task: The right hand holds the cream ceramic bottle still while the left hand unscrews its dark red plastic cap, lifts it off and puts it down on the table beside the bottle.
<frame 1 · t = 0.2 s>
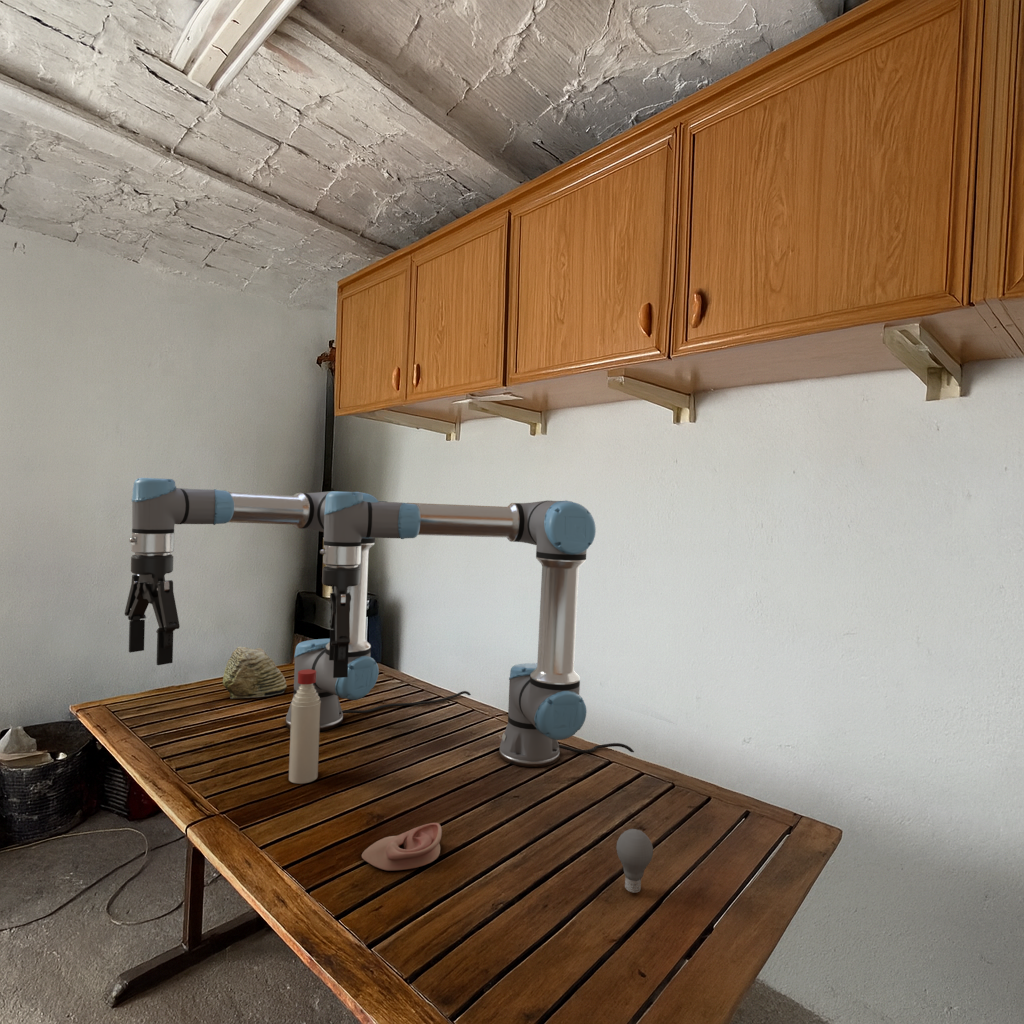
left hand: (150, 657, 129), 29 cm above the table, tool pointing down, fingers open, 13 cm apart
right hand: (337, 668, 131), 28 cm above the table, tool pointing down, fingers open, 13 cm apart
bottle: (303, 777, 142), on the table
fossil: (254, 694, 198), on the table
anatomical model: (402, 854, 114), on the table
cap: (307, 672, 142), point 24 cm above the table, screwed on, not yet turned
light bulb: (632, 891, 106), on the table
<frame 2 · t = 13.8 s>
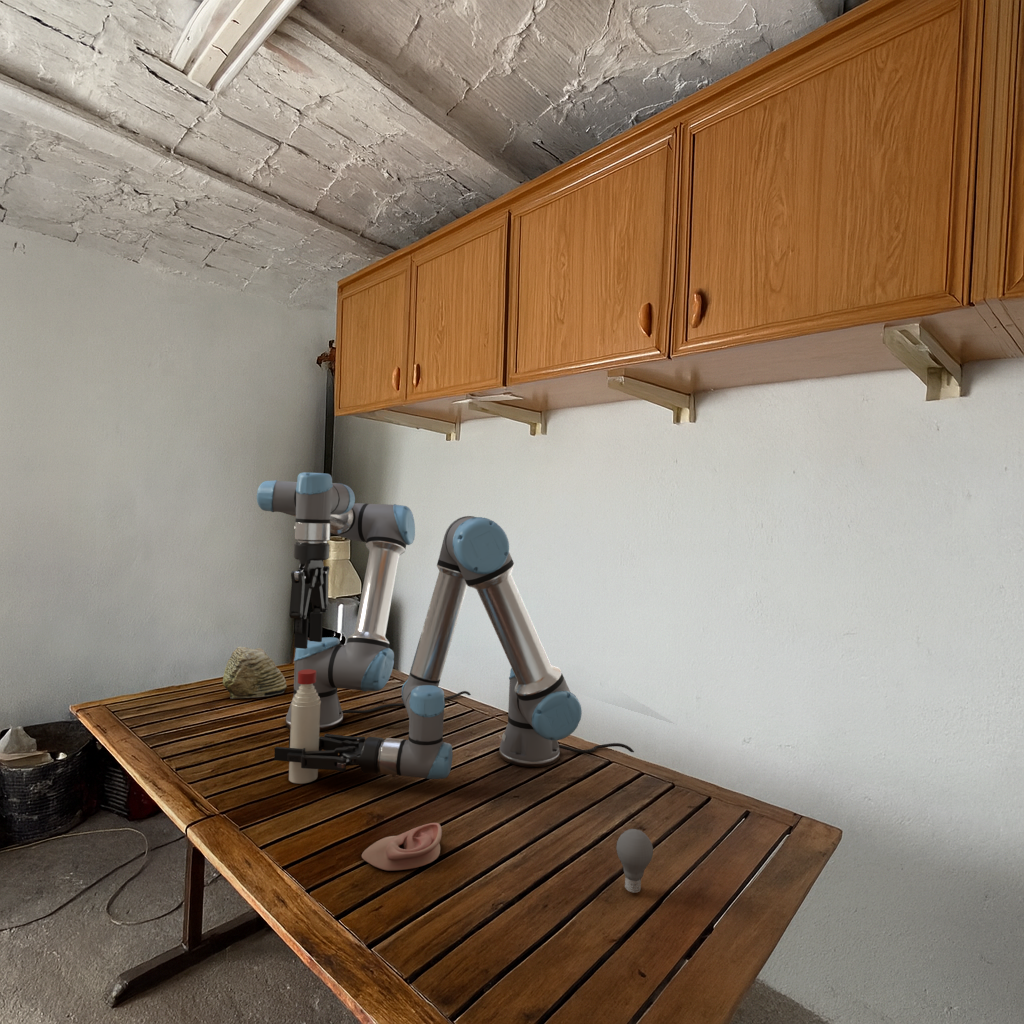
left hand: (308, 644, 142), 30 cm above the table, tool pointing down, fingers open, 6 cm apart
right hand: (282, 747, 143), 6 cm above the table, tool horizontal, fingers closed on bottle, 6 cm apart
bottle: (303, 777, 142), on the table, touching right hand
everything else where it was.
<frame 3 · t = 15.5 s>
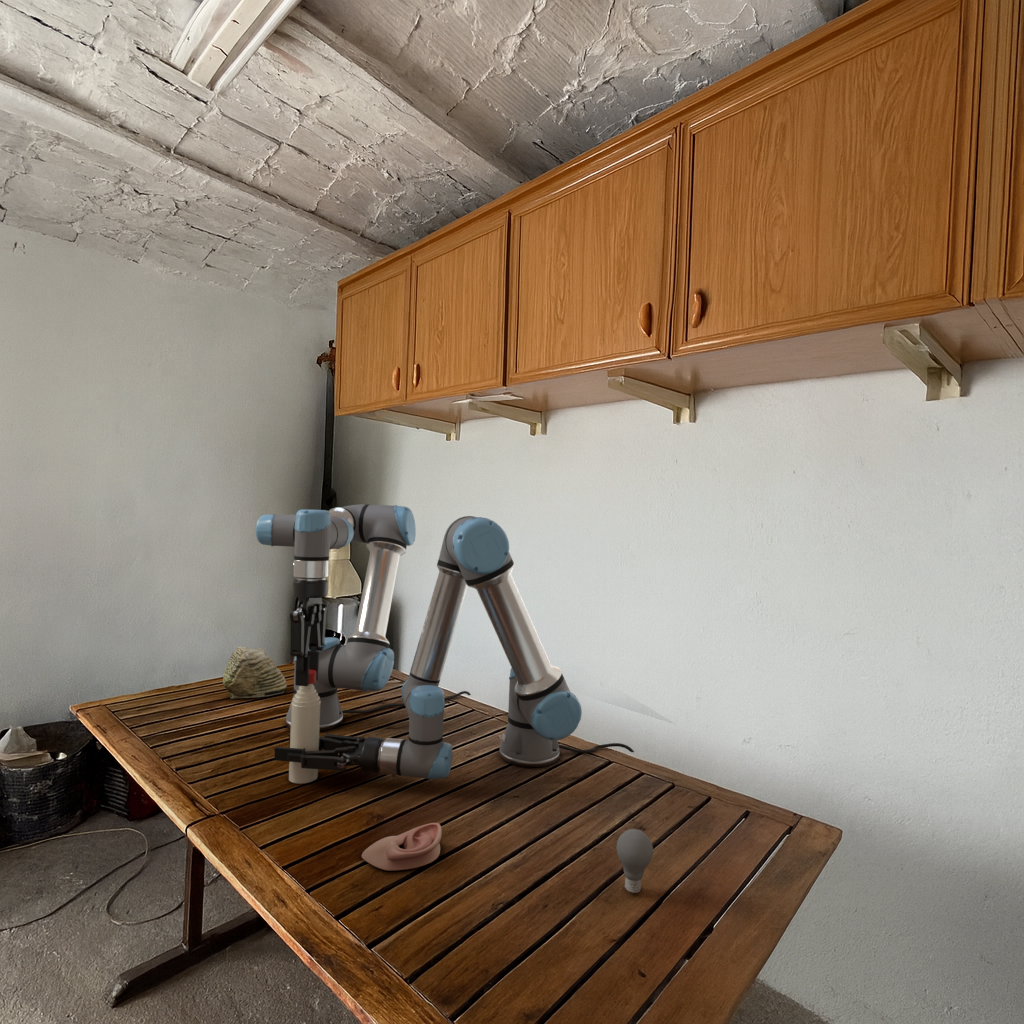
left hand: (306, 682, 142), 22 cm above the table, tool pointing down, fingers closed on cap, 4 cm apart
right hand: (282, 747, 143), 6 cm above the table, tool horizontal, fingers closed on bottle, 6 cm apart
bottle: (303, 777, 142), on the table, touching right hand
cap: (307, 673, 142), point 24 cm above the table, screwed on, not yet turned, touching left hand
everything else where it was.
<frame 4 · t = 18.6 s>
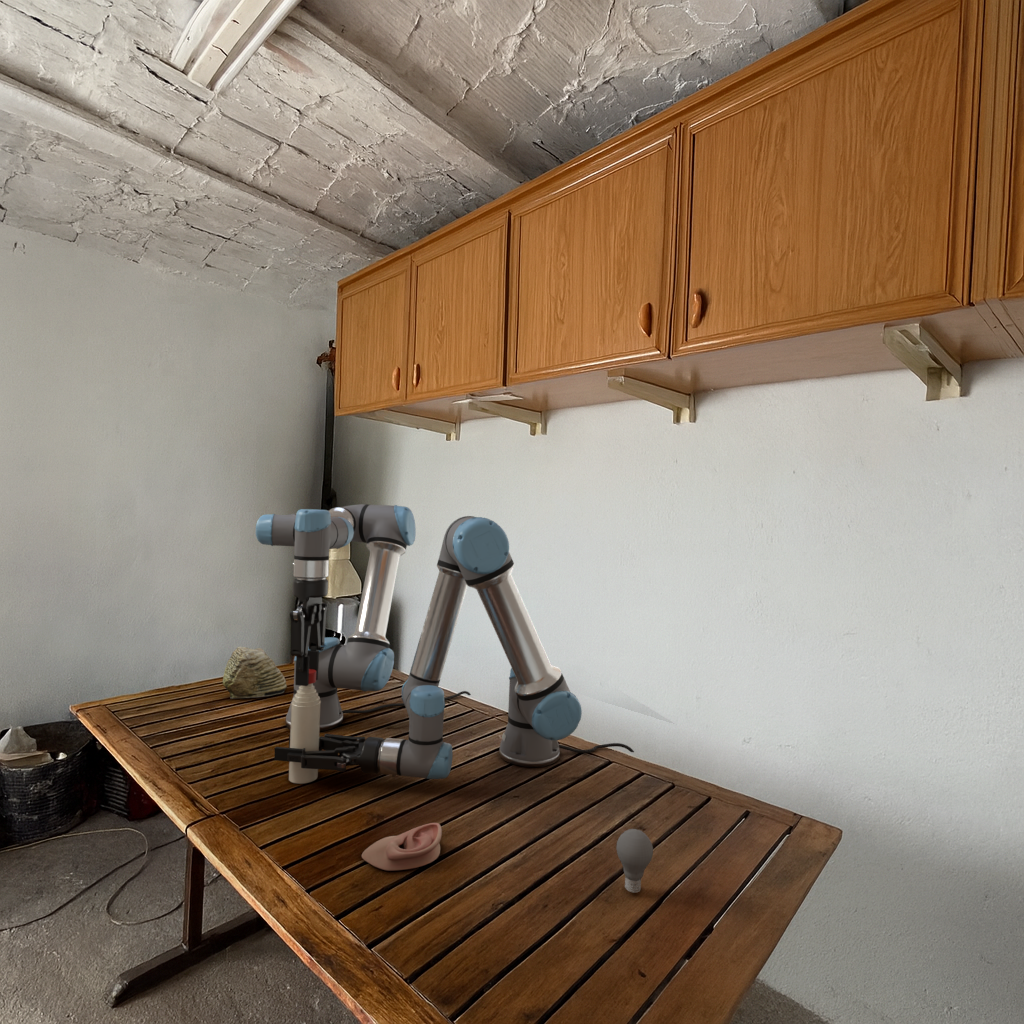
left hand: (306, 681, 142), 22 cm above the table, tool pointing down, fingers closed on cap, 4 cm apart
right hand: (282, 747, 143), 6 cm above the table, tool horizontal, fingers closed on bottle, 6 cm apart
bottle: (303, 777, 142), on the table, touching right hand
cap: (307, 672, 142), point 24 cm above the table, turned 93° so far, risen 0.1 cm, still on its thread, touching left hand
everything else where it was.
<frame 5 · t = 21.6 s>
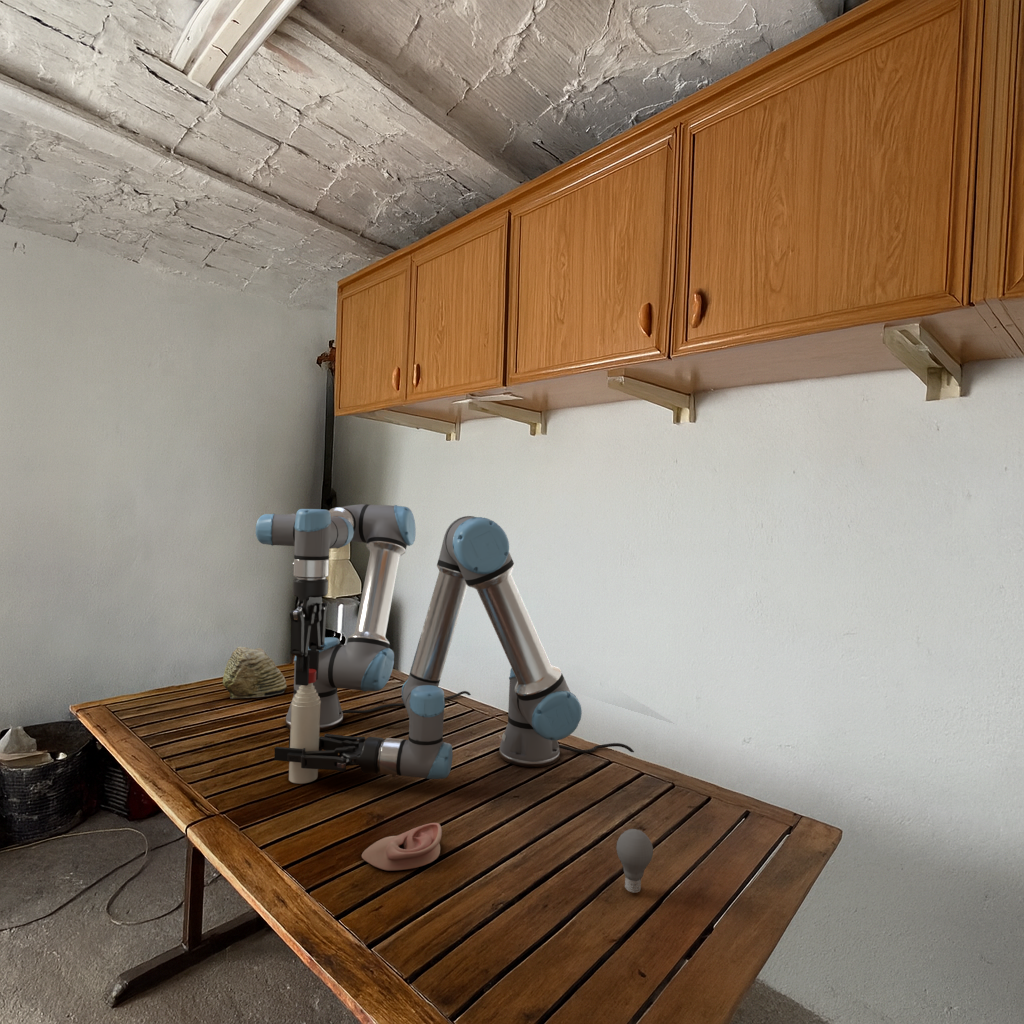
left hand: (306, 681, 142), 22 cm above the table, tool pointing down, fingers closed on cap, 4 cm apart
right hand: (282, 747, 143), 6 cm above the table, tool horizontal, fingers closed on bottle, 6 cm apart
bottle: (303, 777, 142), on the table, touching right hand
cap: (307, 672, 142), point 24 cm above the table, turned 185° so far, risen 0.2 cm, still on its thread, touching left hand
everything else where it was.
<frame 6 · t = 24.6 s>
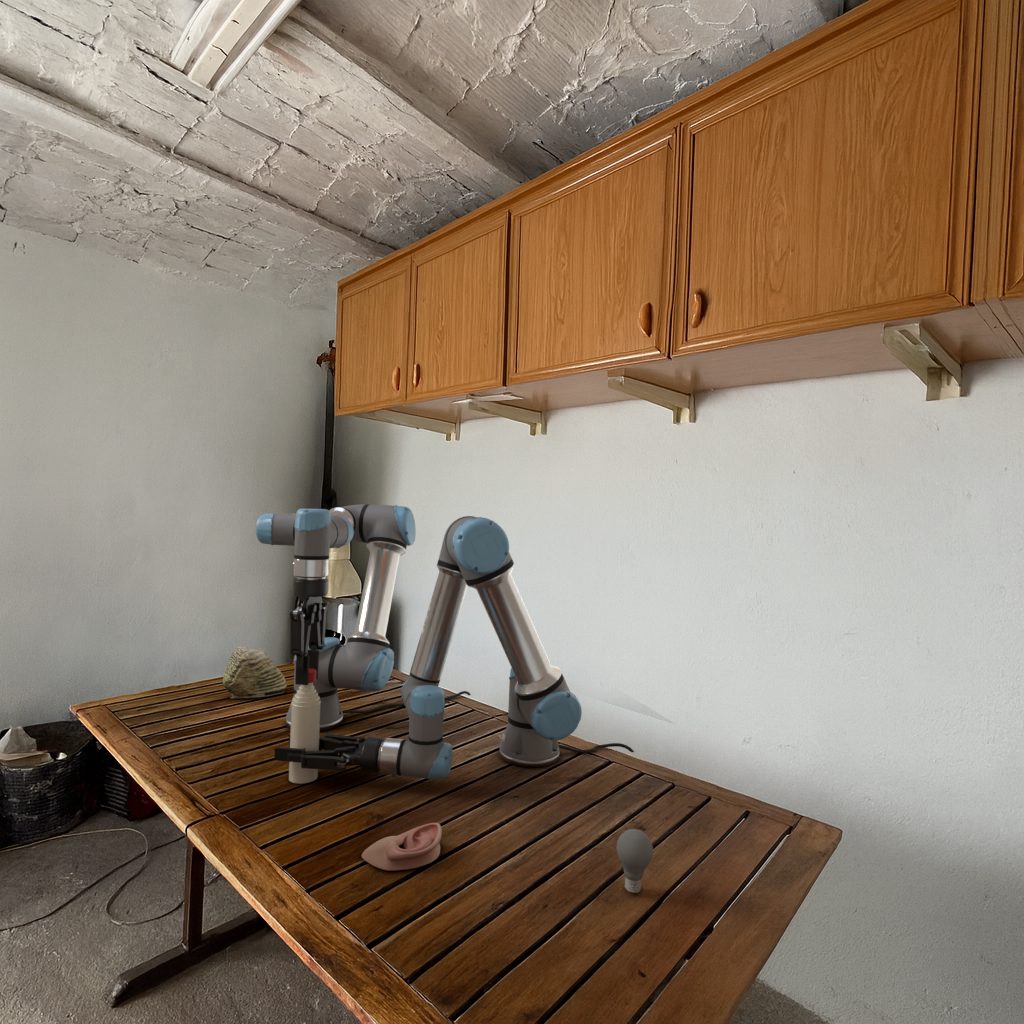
left hand: (306, 681, 142), 22 cm above the table, tool pointing down, fingers closed on cap, 4 cm apart
right hand: (282, 747, 143), 6 cm above the table, tool horizontal, fingers closed on bottle, 6 cm apart
bottle: (303, 777, 142), on the table, touching right hand
cap: (307, 671, 142), point 24 cm above the table, turned 278° so far, risen 0.2 cm, still on its thread, touching left hand
everything else where it was.
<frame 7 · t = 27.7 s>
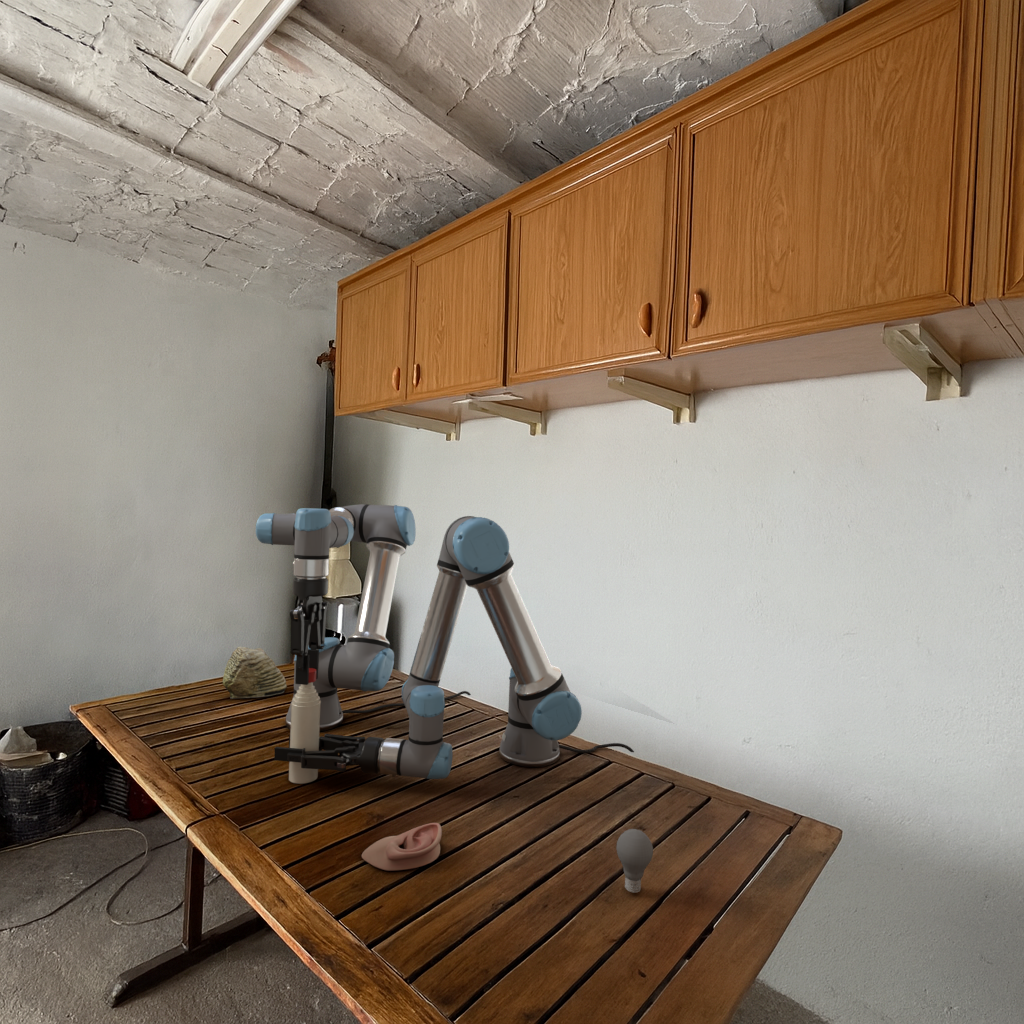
left hand: (306, 680, 142), 22 cm above the table, tool pointing down, fingers closed on cap, 4 cm apart
right hand: (282, 747, 143), 6 cm above the table, tool horizontal, fingers closed on bottle, 6 cm apart
bottle: (303, 777, 142), on the table, touching right hand
cap: (307, 671, 142), point 24 cm above the table, turned 370° so far, risen 0.3 cm, still on its thread, touching left hand
everything else where it was.
when the left hand's fingers open (1 cm above the table, at t = 35.2 s): cap stays where it is, point 2 cm above the table.
when the right hand's fingers open (6 cm above the table, at t = 36.5 s): bottle stays where it is, on the table.
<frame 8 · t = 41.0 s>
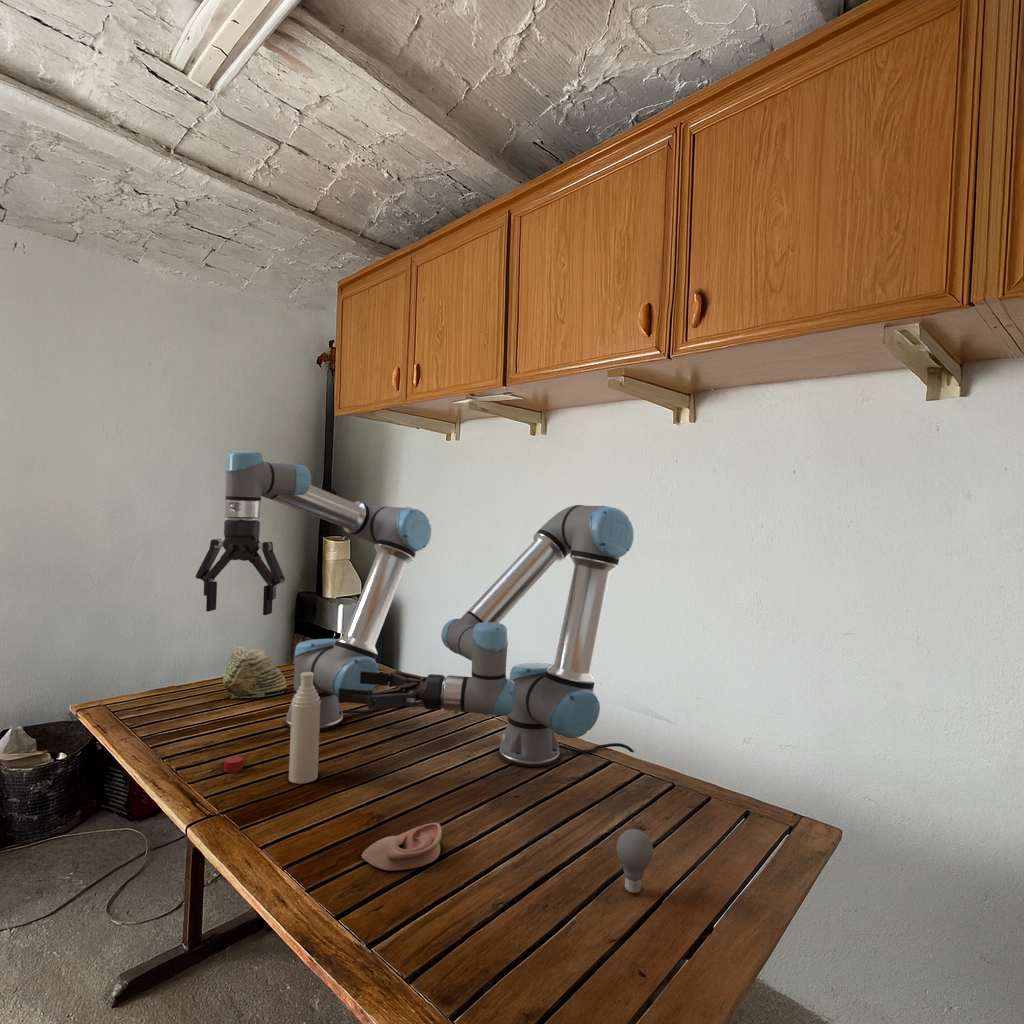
left hand: (239, 612, 144), 36 cm above the table, tool pointing down, fingers open, 13 cm apart
right hand: (350, 685, 141), 22 cm above the table, tool horizontal, fingers open, 13 cm apart
bottle: (303, 777, 142), on the table
cap: (233, 760, 145), point 2 cm above the table, off its thread
everything else where it was.
at the end: cap came off its thread; cap point 2.0 cm above the table; the left hand is holding nothing; the right hand is holding nothing; bottle tilted 0°; bottle moved 0.0 cm from its start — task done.
